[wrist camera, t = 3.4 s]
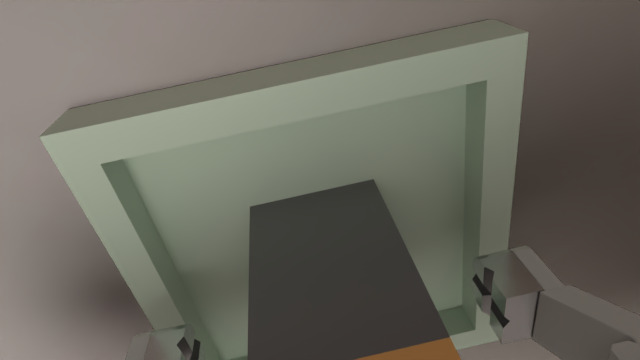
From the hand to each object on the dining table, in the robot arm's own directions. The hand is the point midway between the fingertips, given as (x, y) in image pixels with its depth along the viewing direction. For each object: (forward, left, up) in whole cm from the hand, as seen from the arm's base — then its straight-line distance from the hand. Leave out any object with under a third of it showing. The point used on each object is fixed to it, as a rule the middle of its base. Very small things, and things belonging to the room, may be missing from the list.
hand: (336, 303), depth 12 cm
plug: (0, 0, -3) cm, 3 cm away
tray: (0, 0, -3) cm, 3 cm away
